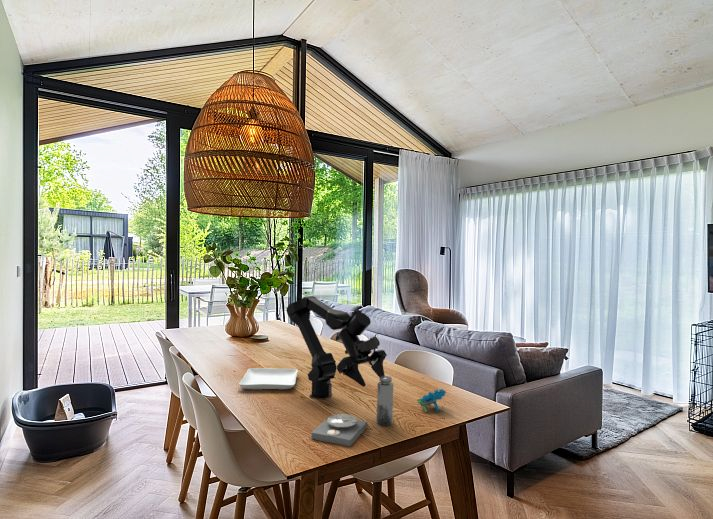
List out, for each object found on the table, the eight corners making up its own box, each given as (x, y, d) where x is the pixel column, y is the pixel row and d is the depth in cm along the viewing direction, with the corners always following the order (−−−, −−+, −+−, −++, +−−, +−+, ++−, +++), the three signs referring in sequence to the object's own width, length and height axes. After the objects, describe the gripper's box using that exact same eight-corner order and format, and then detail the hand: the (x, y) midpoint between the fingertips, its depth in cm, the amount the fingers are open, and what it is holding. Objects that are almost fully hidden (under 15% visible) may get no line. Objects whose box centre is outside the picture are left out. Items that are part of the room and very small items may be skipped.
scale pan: (322, 424, 128) (322, 422, 128) (334, 413, 136) (334, 412, 136) (350, 429, 125) (350, 427, 125) (361, 418, 133) (361, 416, 133)
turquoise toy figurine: (439, 397, 157) (448, 384, 150) (446, 413, 153) (455, 400, 146) (412, 405, 153) (419, 392, 146) (418, 421, 150) (427, 408, 142)
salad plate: (294, 392, 164) (294, 383, 164) (237, 392, 163) (238, 383, 163) (298, 376, 186) (298, 368, 185) (248, 375, 184) (248, 367, 184)
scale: (311, 438, 125) (311, 430, 125) (331, 420, 138) (331, 413, 138) (350, 446, 120) (350, 438, 120) (366, 427, 134) (367, 420, 134)
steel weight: (374, 424, 136) (375, 378, 135) (379, 418, 140) (380, 374, 140) (389, 427, 134) (391, 380, 134) (394, 421, 139) (395, 376, 138)
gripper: (343, 332, 137) (367, 375, 130) (383, 326, 150) (407, 364, 143) (327, 352, 143) (348, 394, 136) (367, 345, 156) (389, 382, 148)
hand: (374, 383), depth 140 cm, fingers open, 9 cm apart
